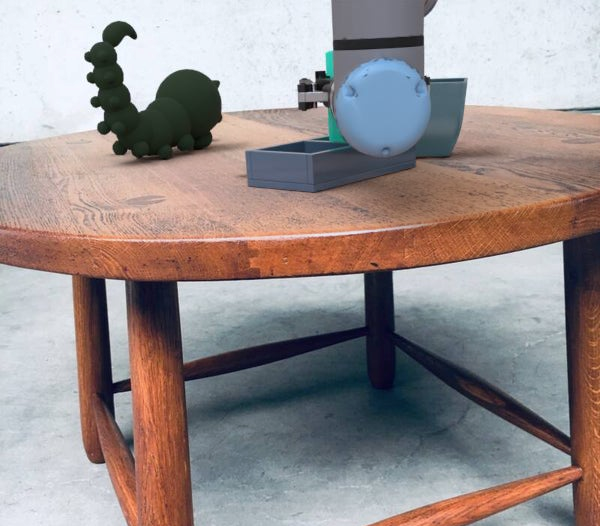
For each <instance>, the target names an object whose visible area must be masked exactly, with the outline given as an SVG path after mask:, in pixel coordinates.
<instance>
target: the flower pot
mask: <svg viewBox="0 0 600 526" xmlns="http://www.w3.org/2000/svg"><path fill="white" fill-rule="evenodd" d="M468 80H469V79H468V77H442V78H440V77H439V78H437V77H436V78H430V101H431V113H430V119H429V122H428V125H427V128H426V130H425V132H424V134H423V135H422V137H421V138H420V139H419V140H418V141H417V142H416V158H419V157H441V158H447V157H450V156H451V154H452V153H453V150H454V149H455V147H456V145H457V143H458V140H459V137H460V134H461V130H462V126H463V121H464V114H465V107H466V106H465V105H466V97H467V89H468Z"/></svg>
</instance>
